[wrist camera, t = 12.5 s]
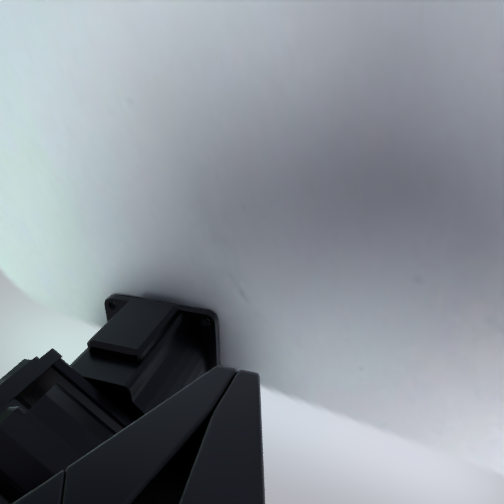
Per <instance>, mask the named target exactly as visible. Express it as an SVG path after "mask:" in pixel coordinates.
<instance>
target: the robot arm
mask: <svg viewBox="0 0 504 504" xmlns="http://www.w3.org/2000/svg"><path fill="white" fill-rule="evenodd" d="M113 303H115V304H116V305H114V304H113ZM105 309H106V315H107V321H108V322H107V323H106V324H105V325H104V326H103V327H102V328H101V329H100V330H99V331H98V332H97V333H96V334H95V335H94V336H93V337H92V338H91V339H90V340H89V341H88V343H87V345H88V348H87V349H86V350H85V351H84V352H83V353H82V354H81V355H80V356H79V357H78V358H77V359H76V360H75V361H74V362H73V363H72V364H71V365H68V364H67V363H66V362H65V361H64V360H63V359H61V357H62V356H61V355H60V354H59V353H58V352H57V351H55V350H54V349H51V350H50V351H49V352H47V353H46V354H45V355H44V356H42V357H41V358H40V359H39V358H38V357H35V358H34V359H32V360H27V359H24V360H22V361H21V362H20V363H19V364H18V365H17V366H15V367H14V368H13V369H12V370H11V371H10V372H8V373H7V374H6V375H5V376H4V377H3V378H1V379H0V504H265V489H264V466H263V443H262V421H261V397H260V377H259V374H258V373H255V372H250V371H245V370H240V371H238V370H237V369H235V368H231V367H226V366H222V365H220V358H219V335H218V318H217V316H216V314H215V313H213V312H212V311H209V310H204V309H198V308H192V307H187V306H181V305H176V304H173V303H167V302H161V301H155V300H149V299H144V298H138V297H128V296H122V295H116V294H112V295H111V296H109V297H108V298H107V299H106V300H105ZM205 318H206V319H208V320H209V321H210V322H207V321H206V320H205Z"/></svg>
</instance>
